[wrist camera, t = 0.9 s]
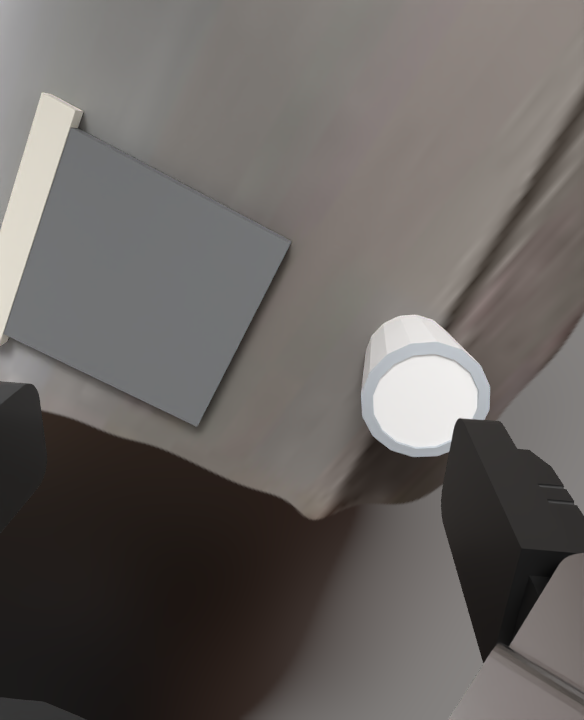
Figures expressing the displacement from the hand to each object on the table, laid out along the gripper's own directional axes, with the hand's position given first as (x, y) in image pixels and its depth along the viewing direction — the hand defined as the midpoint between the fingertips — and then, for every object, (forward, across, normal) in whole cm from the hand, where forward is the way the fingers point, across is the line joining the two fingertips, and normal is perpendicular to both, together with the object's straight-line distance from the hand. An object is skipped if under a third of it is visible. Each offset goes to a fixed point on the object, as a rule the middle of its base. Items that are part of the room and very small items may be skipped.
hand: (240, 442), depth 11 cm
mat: (+25, +11, +4) cm, 27 cm away
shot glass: (+25, -7, +8) cm, 27 cm away
